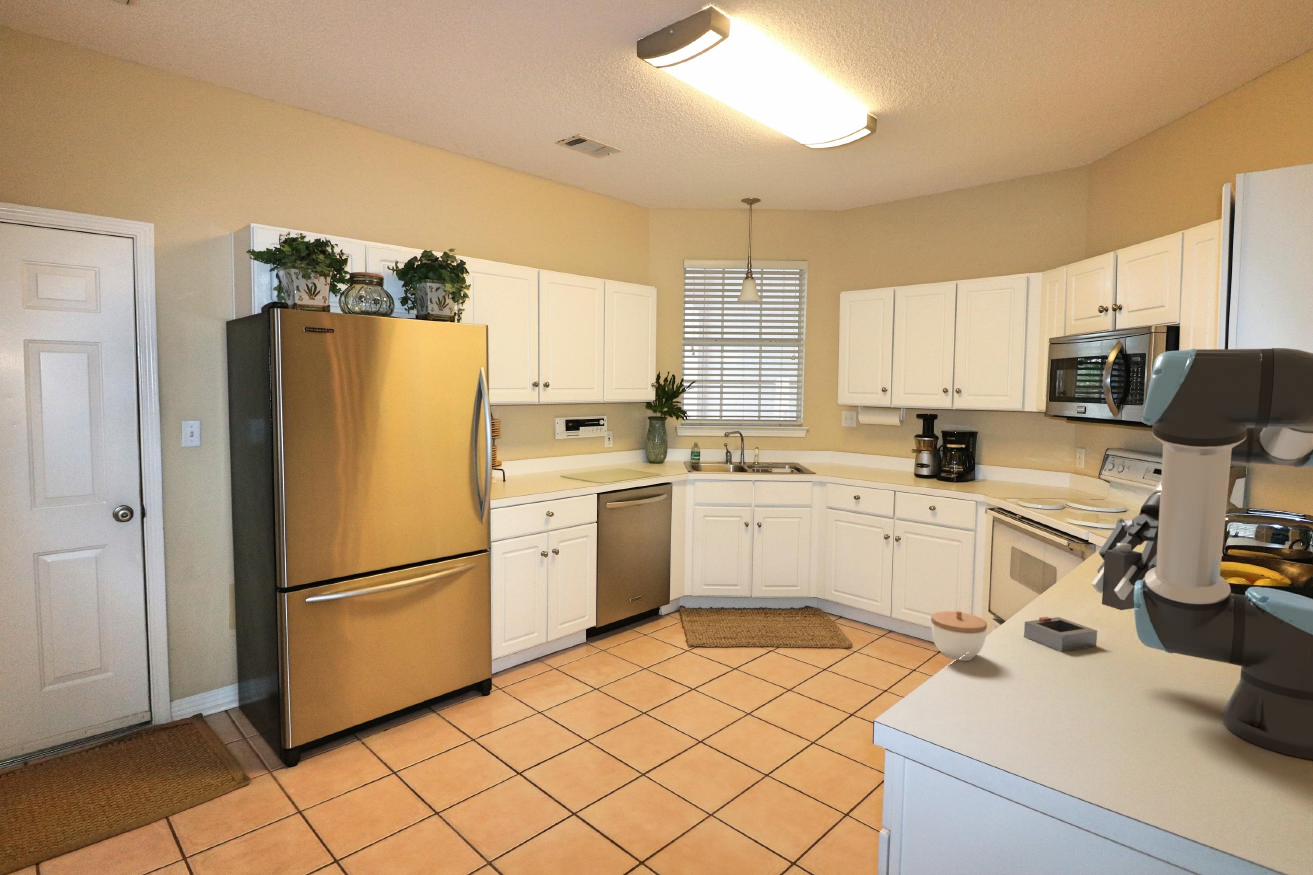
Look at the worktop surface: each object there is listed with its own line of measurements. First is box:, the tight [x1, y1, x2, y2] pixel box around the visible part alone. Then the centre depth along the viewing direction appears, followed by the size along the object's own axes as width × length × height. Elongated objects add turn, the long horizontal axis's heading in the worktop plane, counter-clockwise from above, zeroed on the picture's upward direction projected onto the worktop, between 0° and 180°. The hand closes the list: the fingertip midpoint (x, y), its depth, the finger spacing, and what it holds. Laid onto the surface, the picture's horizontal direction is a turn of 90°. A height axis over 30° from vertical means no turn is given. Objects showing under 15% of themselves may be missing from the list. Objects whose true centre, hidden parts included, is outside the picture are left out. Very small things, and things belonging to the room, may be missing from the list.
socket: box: [1023, 616, 1098, 652], centre depth 154 cm, size 10×10×4 cm
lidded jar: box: [930, 610, 988, 662], centre depth 145 cm, size 11×11×9 cm
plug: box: [1101, 543, 1142, 611], centre depth 137 cm, size 4×5×12 cm
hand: (1107, 591), depth 136 cm, fingers closed on plug, 4 cm apart
